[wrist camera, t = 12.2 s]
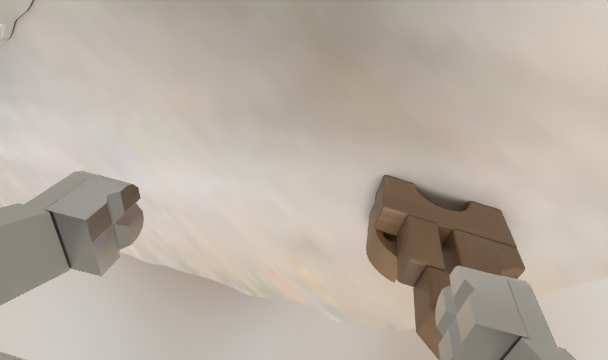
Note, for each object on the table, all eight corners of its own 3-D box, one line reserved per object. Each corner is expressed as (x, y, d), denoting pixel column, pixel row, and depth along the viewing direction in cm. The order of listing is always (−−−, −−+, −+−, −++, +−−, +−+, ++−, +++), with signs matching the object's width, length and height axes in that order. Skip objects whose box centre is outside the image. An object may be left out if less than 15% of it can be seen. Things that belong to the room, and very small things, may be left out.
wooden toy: (366, 216, 44) (341, 444, 23) (384, 174, 40) (374, 399, 19) (486, 254, 43) (573, 527, 22) (516, 214, 39) (655, 496, 18)
